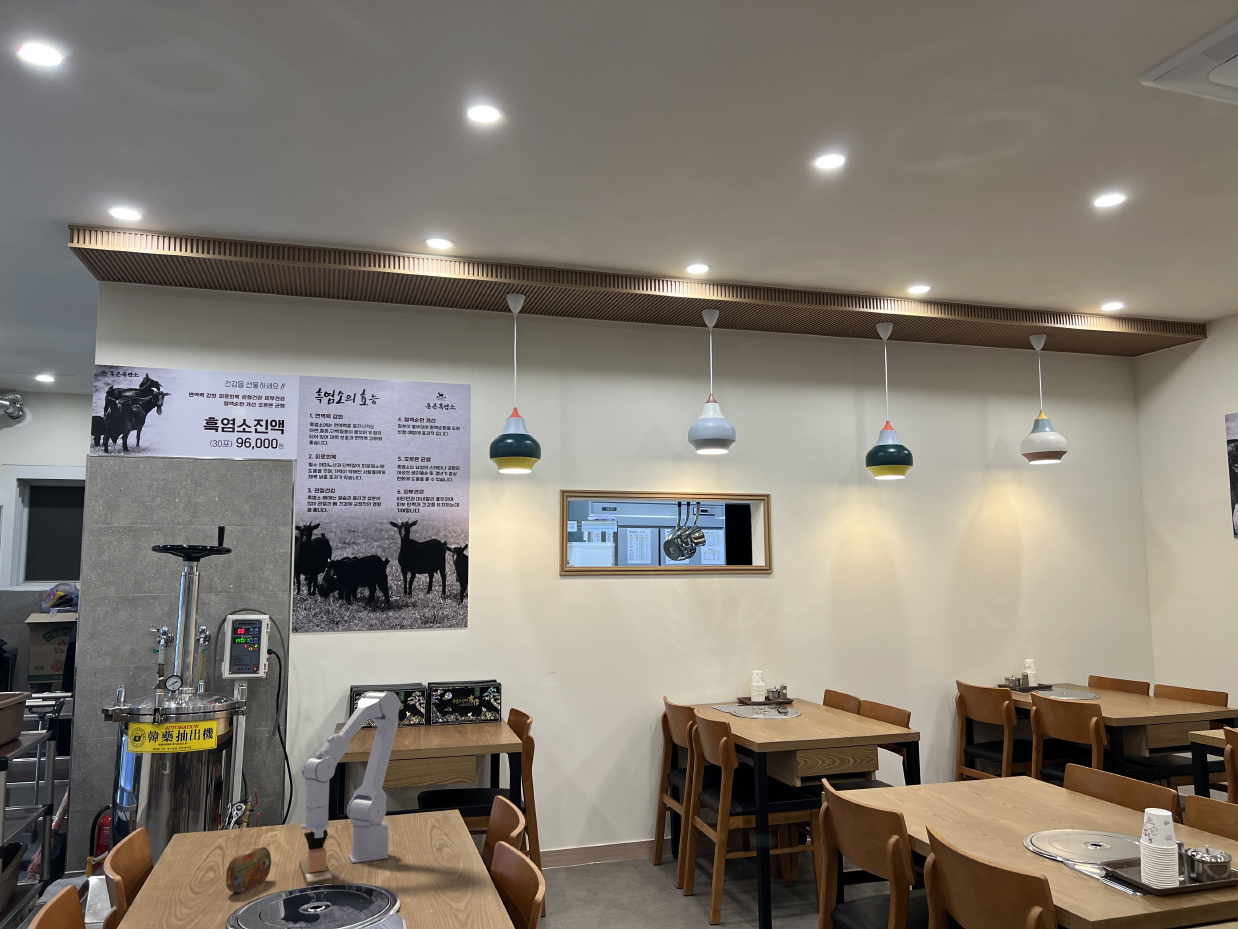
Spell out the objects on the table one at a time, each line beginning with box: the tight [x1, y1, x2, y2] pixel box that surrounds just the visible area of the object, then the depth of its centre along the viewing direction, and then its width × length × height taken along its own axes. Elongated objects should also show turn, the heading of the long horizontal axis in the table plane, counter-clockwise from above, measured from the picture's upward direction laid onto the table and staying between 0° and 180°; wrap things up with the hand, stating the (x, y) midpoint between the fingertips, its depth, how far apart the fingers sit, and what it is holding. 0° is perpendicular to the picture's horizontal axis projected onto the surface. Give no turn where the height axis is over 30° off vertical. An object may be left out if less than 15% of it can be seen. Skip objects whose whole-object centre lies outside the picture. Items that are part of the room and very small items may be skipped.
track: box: [298, 858, 334, 888], centre depth 219 cm, size 6×22×2 cm, turn 25°
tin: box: [225, 846, 272, 894], centre depth 211 cm, size 15×3×8 cm, turn 168°
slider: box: [307, 847, 327, 873], centre depth 218 cm, size 4×4×4 cm
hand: (315, 861), depth 221 cm, fingers closed
